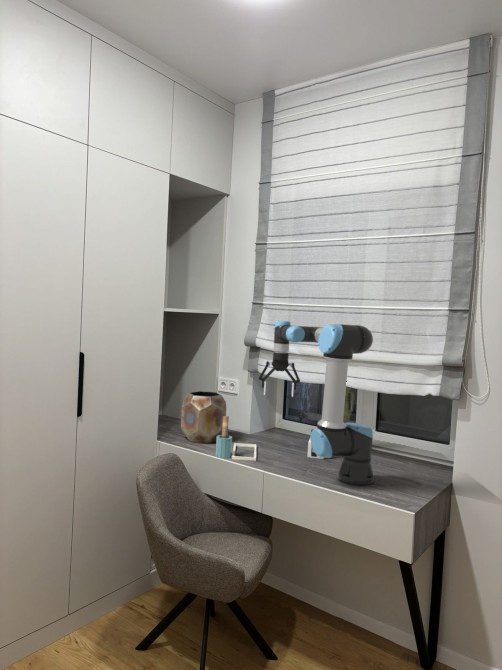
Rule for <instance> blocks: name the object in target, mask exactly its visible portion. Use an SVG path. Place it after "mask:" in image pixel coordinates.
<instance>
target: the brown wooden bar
mask: <svg viewBox="0 0 502 670" xmlns="http://www.w3.org/2000/svg"><path fill="white" fill-rule="evenodd" d="M228 430H229V416H227V415H226V416H223V425H222V438H227V435H228V432H229V431H228Z"/></svg>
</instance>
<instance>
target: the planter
mask: <svg viewBox="0 0 502 670" xmlns="http://www.w3.org/2000/svg"><path fill="white" fill-rule="evenodd" d="M223 416H227V401H226V400H225V398H224V397H223V395H222V394H220V393H218V392H217V391H201V390H200V391H192V392H191V391H190V392H188V393H187V394H186V395H185V396H184V398H183V401H182V406H181V417H180V418H181V419H180V428H181V430H182V432H183V434H184V437H187V438H186V439H187V440H189V441H190V442H192V443H201V444H210V443H215V442H216V440H217V436H218V435H222V425H223Z"/></svg>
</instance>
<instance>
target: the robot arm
mask: <svg viewBox="0 0 502 670" xmlns="http://www.w3.org/2000/svg"><path fill="white" fill-rule="evenodd" d="M273 333H274V336H273V349H272V350H273V353H272V361H269V360H266V363H265V366H264V368H263V369H262V372H261V373H260V375H259V376H258V380H259V381H260V382H261V387H262V389H263V395H264V396H265V395H266V392H267V391H266V389H267V387H266V386H267V381H266V380H267V379H268V378H269V376H271V375H272V374H273V373H274V372H275V371H276V372H285V373H286V374H287V376H288V377H289V378H290V379H291V381H292V383H291V397H292V398H293V397H294V391H295V390H297V384H298V383H300V382H301V379H300V377H299V374H298V371H297V370H296V367H295V362H289V356H290V355H289V353H288V352H289V351H290V342H291V343H318V348H319V350H320V352H321V353H323V355H322V357H323V358H324V359H325V361H326V363H325V364H326V367H325V376H324V388H323V400H322V401H323V402H322V409H321V410H322V411H321V412H322V413H321V419H320V420H319V421H317V425H316V426H317V427H316V428H313V429H314V430H313V431H312V432H311V431H310V437H309V439H310V440H311V446H312V448H313V450H314V452H315V453H316V455H317V456H319V457H322V458H324V459H325V458H327V459H330V458H337V457H338V458H339V457H342V460H341V462H340V465H339V467H338V469H337V474H336V475H337V479H338V480H339V481H341V482H343V483H346V484H350V485H356V486H357V485H358V486H368V485H373V483H374V482H375V474H374V470H373V465H372V452H373V451H372V450H373V439H374V435H373V434H374V432H373V429H372V427H370V426H367V425H364V424H361V423H360V424H359V423H355V422H349V423H344V422H343V415H344V404H345V393H346V382H347V381H348V380H347V378H348V369H349V368H348V367H349V363H351V361H352V360H353V355H355V354H358V355H359V354H363V353H366V352H367V351H368V350H369V349H370V348H371V347H372V346H373V342H374V338H373V334H372V332H371V330H370V329H368V327H366V326H364V325H360V324H344V323H343V324H342V323H341V324H340V323H334V324H327V325H325V326H324V327H323V326H308V325H307V326H301V325H291V322H290V321H289V320H276V321H275V324H274V332H273ZM270 366H272V368H271V370H270V371H269V372H267V374H266V375H265V373H266V371H267V370H268V368H269V367H270ZM289 366H290V368H292V371H293V374H294V376H295V377H294V376H293V375H292V373H291V372H290V370H289V369H288V367H289ZM263 376H264V377H263ZM295 378H296V379H295Z"/></svg>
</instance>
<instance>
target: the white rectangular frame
mask: <svg viewBox="0 0 502 670" xmlns="http://www.w3.org/2000/svg"><path fill="white" fill-rule="evenodd" d="M237 447H243V448H244V447H247V448H253V449H254V450H253V451H254V452H253V457H251V456H237V455H235V454H236V449H237ZM231 460H239V461H255V462H256V461H257V444H256V443H255V444H254V443H236V442H234V443H233V447H232V452H231Z"/></svg>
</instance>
